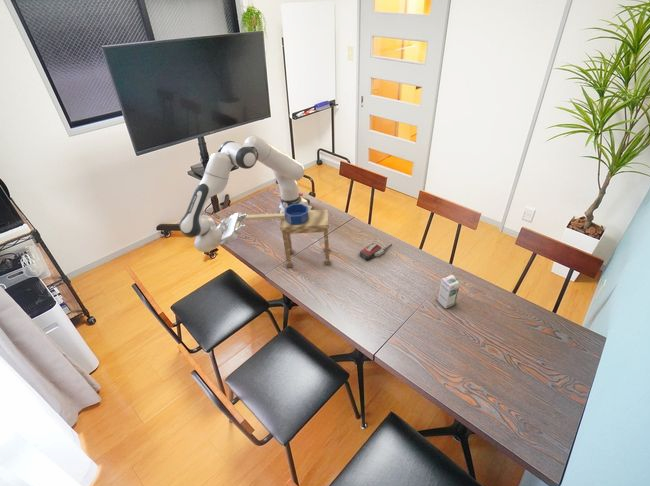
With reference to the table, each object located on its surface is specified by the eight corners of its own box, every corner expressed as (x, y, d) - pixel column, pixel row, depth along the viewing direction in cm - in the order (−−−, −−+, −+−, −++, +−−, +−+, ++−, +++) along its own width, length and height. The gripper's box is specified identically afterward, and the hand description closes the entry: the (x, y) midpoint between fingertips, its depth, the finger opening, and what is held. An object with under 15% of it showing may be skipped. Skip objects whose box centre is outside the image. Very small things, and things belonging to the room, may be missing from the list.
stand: (286, 268, 171) (279, 227, 155) (288, 251, 182) (282, 211, 166) (330, 265, 172) (328, 224, 157) (329, 248, 184) (327, 209, 168)
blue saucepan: (308, 211, 166) (308, 203, 163) (308, 224, 157) (307, 215, 154) (248, 214, 164) (246, 206, 161) (244, 227, 155) (242, 219, 152)
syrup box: (445, 309, 149) (451, 286, 140) (436, 300, 153) (441, 277, 144) (454, 304, 151) (461, 282, 142) (446, 296, 155) (451, 273, 146)
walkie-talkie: (369, 263, 173) (393, 247, 185) (369, 257, 171) (393, 241, 182) (357, 256, 178) (381, 240, 190) (357, 250, 176) (382, 234, 187)
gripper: (214, 241, 152) (237, 228, 149) (223, 217, 168) (244, 204, 165) (223, 250, 155) (246, 237, 152) (232, 225, 172) (253, 213, 169)
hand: (245, 220), depth 159 cm, fingers open, 8 cm apart
